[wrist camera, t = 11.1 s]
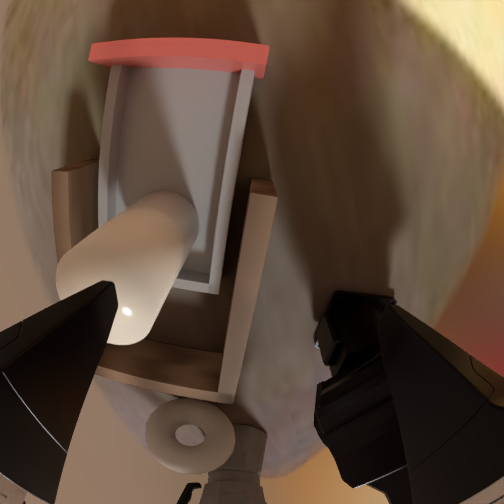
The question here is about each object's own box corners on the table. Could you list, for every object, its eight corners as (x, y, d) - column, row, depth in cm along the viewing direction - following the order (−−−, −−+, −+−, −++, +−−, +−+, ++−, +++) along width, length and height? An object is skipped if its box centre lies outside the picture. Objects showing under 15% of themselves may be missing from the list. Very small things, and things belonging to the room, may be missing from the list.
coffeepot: (270, 414, 31) (274, 546, 15) (289, 443, 35) (297, 548, 19) (166, 428, 34) (144, 536, 17) (197, 454, 37) (186, 547, 21)
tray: (266, 63, 16) (269, 45, 12) (229, 280, 23) (224, 313, 19) (121, 56, 16) (92, 43, 12) (106, 259, 22) (82, 285, 18)
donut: (156, 401, 31) (138, 467, 22) (154, 385, 29) (133, 455, 20) (235, 414, 31) (231, 483, 22) (239, 399, 30) (235, 474, 21)
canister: (203, 196, 19) (155, 259, 10) (195, 262, 21) (155, 356, 12) (135, 185, 19) (49, 236, 10) (132, 249, 21) (65, 328, 12)
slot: (272, 181, 20) (277, 197, 15) (235, 365, 27) (233, 404, 23) (88, 159, 19) (51, 170, 15) (101, 338, 27) (83, 370, 22)
